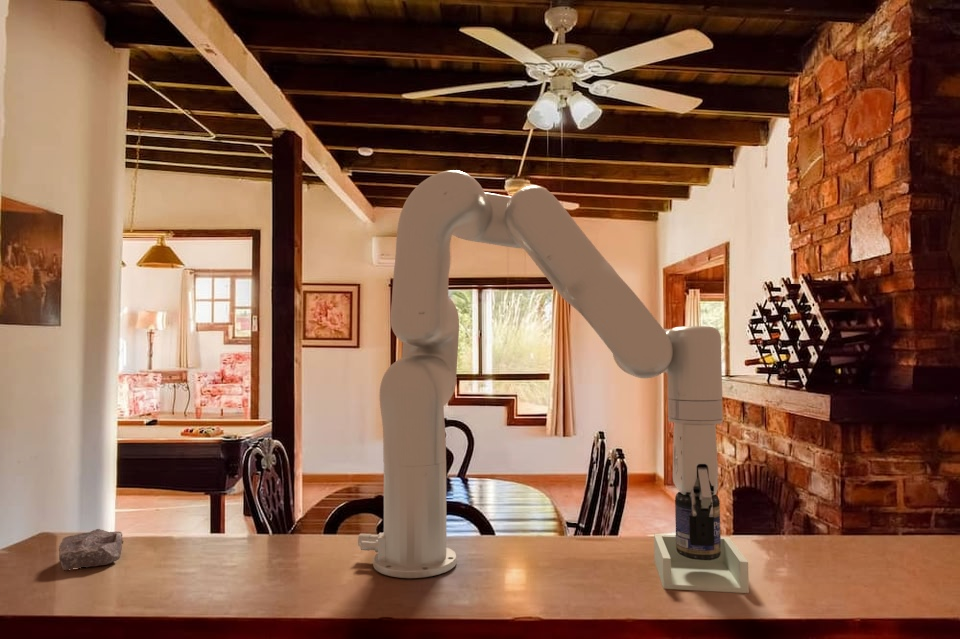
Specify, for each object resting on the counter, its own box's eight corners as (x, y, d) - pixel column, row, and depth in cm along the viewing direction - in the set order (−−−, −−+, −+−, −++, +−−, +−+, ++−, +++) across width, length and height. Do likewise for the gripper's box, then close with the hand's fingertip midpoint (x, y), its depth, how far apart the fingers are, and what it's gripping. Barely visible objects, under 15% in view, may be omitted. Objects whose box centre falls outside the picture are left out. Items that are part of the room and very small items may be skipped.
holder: (663, 588, 87) (663, 558, 87) (654, 561, 98) (654, 534, 98) (748, 593, 85) (748, 562, 85) (729, 564, 96) (729, 537, 96)
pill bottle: (724, 563, 88) (722, 482, 88) (678, 560, 89) (676, 480, 89) (716, 548, 94) (715, 473, 94) (673, 546, 95) (672, 471, 95)
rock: (129, 546, 107) (129, 518, 107) (118, 569, 96) (118, 538, 96) (72, 553, 104) (72, 524, 104) (54, 577, 93) (54, 545, 93)
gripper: (660, 405, 101) (662, 520, 101) (676, 418, 84) (679, 556, 84) (710, 406, 100) (712, 521, 99) (736, 419, 83) (739, 558, 82)
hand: (697, 536), depth 91 cm, fingers closed on pill bottle, 6 cm apart
